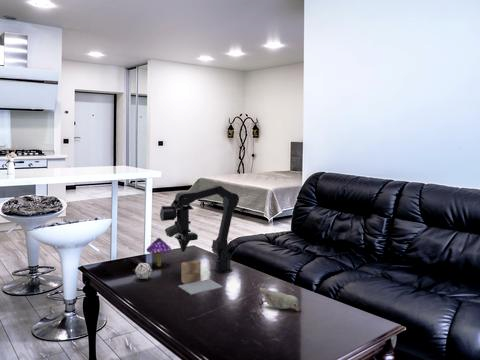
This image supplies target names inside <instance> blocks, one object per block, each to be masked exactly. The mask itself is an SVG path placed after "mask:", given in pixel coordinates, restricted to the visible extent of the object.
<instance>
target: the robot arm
mask: <svg viewBox="0 0 480 360" xmlns="http://www.w3.org/2000/svg"><path fill="white" fill-rule="evenodd" d="M215 195H218V196H219V197H220V198H222V207H223V211H222V216H221V221H220V225H219V230H218V236H217V238H216V239H213V240H212V244H211V251H212V253H213V254H214V255H215V258H216V262H215V268H214V270H215V271H217V272H219V273H221V274H223V273H228V272H232V271H233V269H232V268H231V260H232V259H233V255H232V254H231V253H230V252H229V243H228V237H229V232H230V227H231V223H232V219H233V213H234V211H235V210H236V208H237V206H238V204H239V200H240V197H239V195H238V194H237V193H236V192H231V191H230V190H228V189H227V188H226V189H225V188H224V187H223V185H219V184H215V185H213V186H209V187H204V188H202V189H199V190H194V191H179V192H177V193H176V194H175V196H174V197H175V198H174V200H173V201H172V203H171V204H170V205H161V208H160V212H159V217H160V220H161V222H165V221H167V222H168V221H174V220H175V221H174V224H172V225H171V226H169V227H166V228H165V229H164V232H165V234H166V236H167V237H169V238H173V237H174V238H175V239H176V240H177V241H178V243H179V247H180V250H181V252H183V253H184V252H185V251H186V249H187V248H188V245H189V243H190V241H196V240H198V237H199V235H198V234H197V233H195V232H191V229H190V225H191V224H192V221H190V211H191V210H194V208H193V206H191V204H193V203H194V202H195V201H197V200H201V199H205V198H208V197H212V196H215Z"/></svg>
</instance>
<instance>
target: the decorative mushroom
mask: <svg viewBox="0 0 480 360" xmlns="http://www.w3.org/2000/svg"><path fill="white" fill-rule="evenodd" d="M171 250H172V248H171V246H170V245H168V243H167V242H165V241H164V240H163V239H162V238H160V237H157V238H156V239H155V240H154V241H153V242H152V243H151V244H150V245H149V246H148V247H147V248H146V252H147V253H150V254H156V262H157V264H156V266H157V267H161V266H162V258H161V257H162V255H161V254H164V253H168V252H171Z"/></svg>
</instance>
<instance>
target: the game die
mask: <svg viewBox="0 0 480 360" xmlns="http://www.w3.org/2000/svg"><path fill="white" fill-rule="evenodd" d="M150 263H151V262H150V261H149V262H141V261H138V265H137V266H136V267H135V269H133V270H132V271H133V272H135V274H136V277H137V278H136V280H137V281H138V280H139V279H141V280H142V279H144V280H147V281H149V277H150V276H151V274H152V273H154V272H155V271H154V270H153V269H152V267H151V264H150Z"/></svg>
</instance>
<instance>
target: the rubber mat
mask: <svg viewBox="0 0 480 360" xmlns="http://www.w3.org/2000/svg"><path fill="white" fill-rule="evenodd" d="M178 288H180V289H182V290H183V291H184V292H186V293H188V295H191V296H193V295H197V294H200V293H205V292H209V291H214V290H218V289H223V288H224V286H223V285H221V284H220V283H218V282H215V280H212V279H210V278H207V279H201V281H197V282H193V283H188V284H184V283H183V284H180V285H178Z"/></svg>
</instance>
